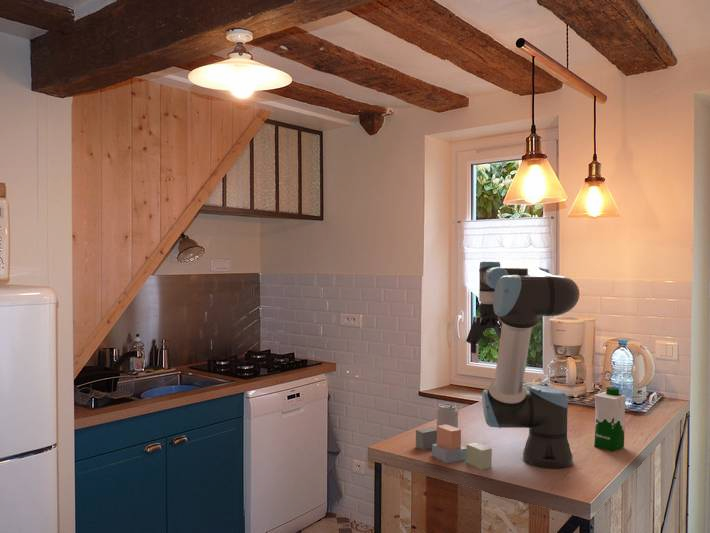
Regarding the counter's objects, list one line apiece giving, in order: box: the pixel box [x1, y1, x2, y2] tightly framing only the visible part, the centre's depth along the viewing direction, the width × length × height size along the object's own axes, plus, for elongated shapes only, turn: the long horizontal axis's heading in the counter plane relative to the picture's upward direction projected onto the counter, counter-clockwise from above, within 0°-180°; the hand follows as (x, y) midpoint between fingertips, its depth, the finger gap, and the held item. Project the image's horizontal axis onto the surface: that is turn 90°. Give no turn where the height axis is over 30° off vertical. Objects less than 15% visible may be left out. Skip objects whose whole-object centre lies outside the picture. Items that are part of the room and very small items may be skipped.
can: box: [436, 403, 459, 429], centre depth 215 cm, size 8×8×12 cm
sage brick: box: [465, 441, 493, 470], centre depth 188 cm, size 7×4×6 cm, turn 31°
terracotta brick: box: [436, 424, 462, 450], centre depth 195 cm, size 7×4×6 cm, turn 33°
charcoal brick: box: [415, 426, 437, 451], centre depth 205 cm, size 7×4×6 cm, turn 121°
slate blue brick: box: [431, 444, 467, 464], centre depth 195 cm, size 8×8×4 cm
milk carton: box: [593, 386, 627, 453], centre depth 206 cm, size 9×9×20 cm
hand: (488, 360), depth 222 cm, fingers open, 13 cm apart
